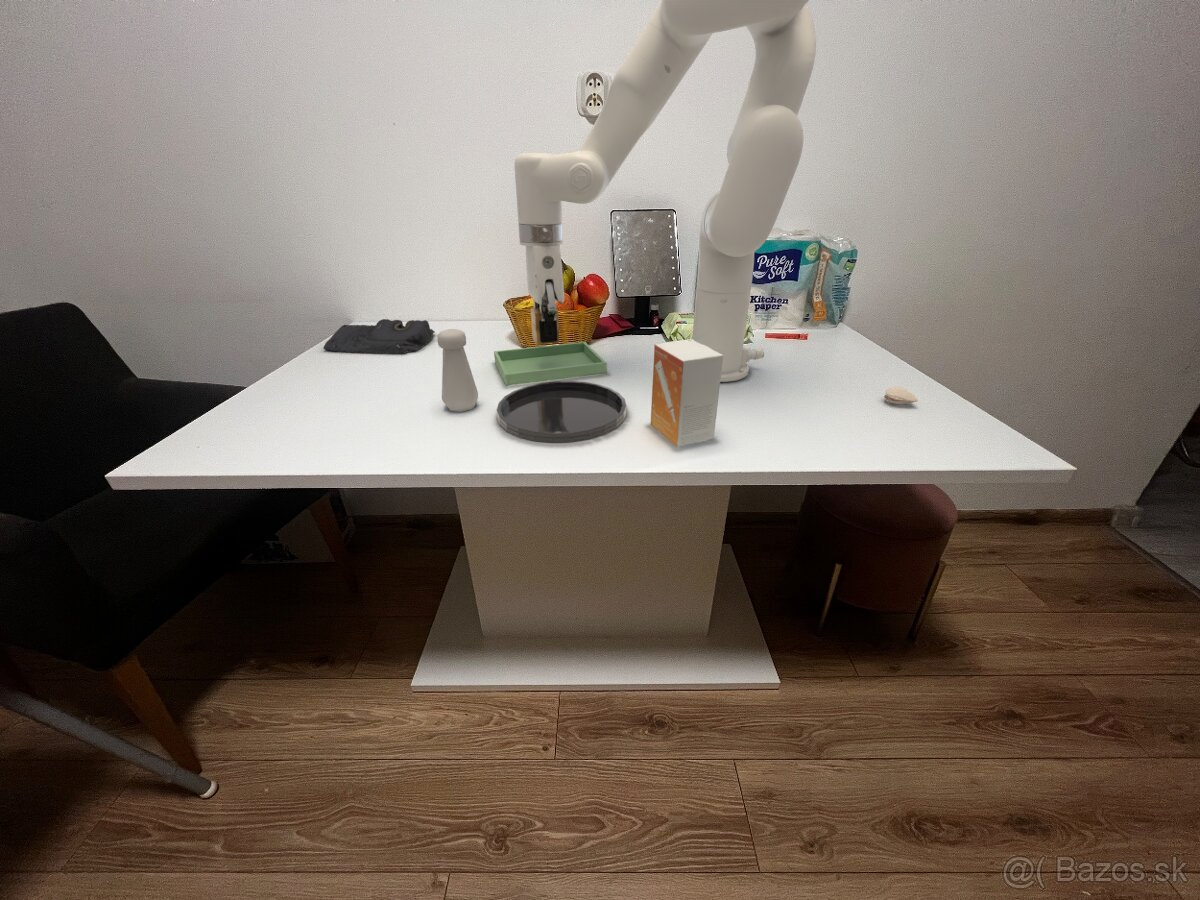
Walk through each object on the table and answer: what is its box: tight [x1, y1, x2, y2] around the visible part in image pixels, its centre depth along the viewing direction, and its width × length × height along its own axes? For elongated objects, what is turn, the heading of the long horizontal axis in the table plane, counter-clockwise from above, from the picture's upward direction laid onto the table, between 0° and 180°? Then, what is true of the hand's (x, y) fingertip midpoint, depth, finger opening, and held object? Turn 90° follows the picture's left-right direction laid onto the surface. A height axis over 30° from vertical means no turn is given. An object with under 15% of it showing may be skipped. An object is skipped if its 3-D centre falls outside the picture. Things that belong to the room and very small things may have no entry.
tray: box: [493, 341, 608, 386], centre depth 100 cm, size 19×14×2 cm
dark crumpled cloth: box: [322, 318, 436, 355], centre depth 115 cm, size 15×22×5 cm
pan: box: [496, 380, 627, 444], centre depth 81 cm, size 20×20×2 cm
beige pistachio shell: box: [883, 386, 919, 405], centre depth 84 cm, size 4×5×2 cm
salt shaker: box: [436, 328, 479, 413], centre depth 81 cm, size 6×6×13 cm
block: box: [530, 307, 560, 346], centre depth 96 cm, size 4×4×6 cm
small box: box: [650, 338, 723, 447], centre depth 72 cm, size 8×6×13 cm
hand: (545, 337), depth 97 cm, fingers closed on block, 4 cm apart
